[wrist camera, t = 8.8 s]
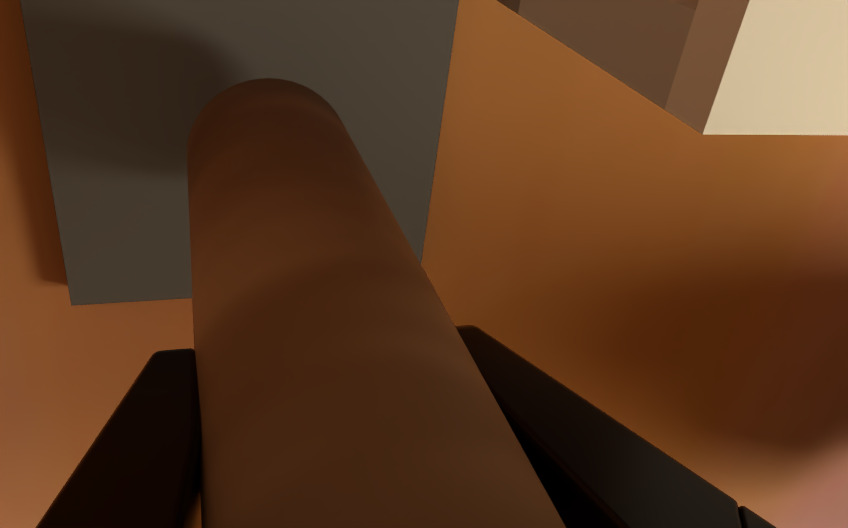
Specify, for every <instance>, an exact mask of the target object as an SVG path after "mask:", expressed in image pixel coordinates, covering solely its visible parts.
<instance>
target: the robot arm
mask: <svg viewBox="0 0 848 528" xmlns="http://www.w3.org/2000/svg"><path fill="white" fill-rule="evenodd" d="M455 327H456V329H457V331H458V333H459V335H460V336H461V338H462V340H463V342H464V344H465V345H466V347H467V349H468V351H469V353H470V355H471V356H472V358H473V360H474V362H475V364H476V365H477V367H478V369H479V371H480V373H481V374H482V376H483V378H484V380H485V382H486V384H487V385H488V387H489V389H490V391H491V393H492V394H493V396H494V398H495V400H496V402H497V403H498V405H499V407H500V409H501V411H502V412H503V414H504V416H505V418H506V420H507V422H508V423H509V425H510V427H511V429H512V431H513V432H514V434H515V436H516V438H517V440H518V441H519V443H520V445H521V447H522V449H523V451H524V452H525V454H526V456H527V458H528V460H529V461H530V463H531V465H532V467H533V469H534V470H535V472H536V474H537V476H538V478H539V480H540V481H541V483H542V485H543V487H544V489H545V490H546V492H547V494H548V496H549V498H550V499H551V501H552V503H553V505H554V507H555V508H556V510H557V512H558V514H559V516H560V518H561V519H562V521H563V523H564V525H565V527H566V528H776V527H775V526H773V525H772V524H770V523H769V522H767V521H766V520H764V519H763V518H761V517H760V516H758V515H757V514H755V513H754V512H752V511H751V510H749V509H748V508H746V507H745V506H740V507H738V504H737V502H736V501H735V500H734V499H733V498H731V497H730V496H728V495H727V494H725V493H724V492H722V491H721V490H719V489H718V488H716V487H715V486H713V485H712V484H710V483H709V482H707V481H706V480H704V479H703V478H701V477H700V476H698V475H697V474H695V473H694V472H692V471H691V470H689V469H688V468H686V467H685V466H683V465H682V464H680V463H679V462H677V461H676V460H674V459H673V458H671V457H670V456H669V455H667V454H666V453H664V452H663V451H661V450H660V449H658V448H657V447H655V446H654V445H652V444H651V443H649V442H648V441H646V440H645V439H643V438H642V437H640V436H639V435H637V434H636V433H634V432H633V431H631V430H630V429H628V428H627V427H625V426H624V425H622V424H621V423H619V422H618V421H616V420H615V419H613V418H612V417H610V416H609V415H607V414H606V413H604V412H603V411H601V410H600V409H598V408H597V407H595V406H594V405H592V404H591V403H589V402H588V401H587V400H585V399H584V398H582V397H581V396H579V395H578V394H576V393H575V392H573V391H572V390H570V389H569V388H567V387H566V386H564V385H563V384H561V383H560V382H558V381H557V380H555V379H554V378H552V377H551V376H549V375H548V374H546V373H545V372H543V371H542V370H540V369H539V368H537V367H536V366H534V365H533V364H531V363H530V362H528V361H527V360H525V359H524V358H522V357H521V356H519V355H518V354H516V353H515V352H513V351H512V350H510V349H509V348H508V347H506V346H505V345H503V344H502V343H500V342H499V341H497V340H496V339H494V338H493V337H491V336H490V335H488V334H487V333H485V332H484V331H482V330H481V329H479V328H477V327H475V326H472V325H465V326H455ZM200 446H201V419H200V405H199V392H198V380H197V369H196V357H195V350H194V349H191V348H189V349H177V350H165V351H158V352H156V353H154V354H153V355H152V357H151V358H150V359H149V361H148V362H147V364H146V365H145V367H144V368H143V370H142V371H141V373H140V374H139V376H138V377H137V378H136V380H135V381H134V383H133V384H132V386H131V387H130V389H129V390H128V392H127V393H126V395H125V396H124V398H123V399H122V401H121V402H120V404H119V405H118V407H117V408H116V410H115V411H114V412H113V414H112V415H111V417H110V418H109V420H108V421H107V423H106V424H105V426H104V427H103V429H102V430H101V432H100V433H99V435H98V436H97V438H96V439H95V441H94V442H93V444H92V445H91V447H90V448H89V449H88V451H87V452H86V454H85V455H84V457H83V458H82V460H81V461H80V463H79V464H78V466H77V467H76V469H75V470H74V472H73V473H72V475H71V476H70V478H69V479H68V481H67V482H66V484H65V485H64V486H63V488H62V489H61V491H60V492H59V494H58V495H57V497H56V498H55V500H54V501H53V503H52V504H51V506H50V507H49V509H48V510H47V512H46V513H45V515H44V516H43V518H42V519H41V521H40V522H39V523H38V525H37V526H36V528H202V525H201V500H200Z"/></svg>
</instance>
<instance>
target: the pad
mask: <svg viewBox="0 0 848 528" xmlns="http://www.w3.org/2000/svg"><path fill="white" fill-rule="evenodd" d="M20 3H21V9H22V15H23V21H24V27H25V33H26V39H27V45H28V51H29V57H30V63H31V69H32V75H33V81H34V86H35V92H36V98H37V104H38V110H39V116H40V122H41V128H42V134H43V140H44V146H45V152H46V158H47V163H48V169H49V175H50V181H51V187H52V193H53V199H54V205H55V211H56V217H57V223H58V229H59V235H60V240H61V246H62V252H63V258H64V264H65V270H66V276H67V282H68V288H69V294H70V300H71V306H72V305H87V304H103V303H119V302H135V301H151V300H167V299H182V298H192V276H191V251H190V226H189V201H188V176H187V144H188V138H189V134H190V131H191V128H192V126H193V124H194V122H195V119H196V118H197V116H198V115H199V113H200V112H201V110H202V109H203V108H204V107H205V106H206V105H207V103H208V102H209V101H210V100H212V99H213V98H214V97H215V96H216V95H218V94H219V93H221V92H222V91H224V90H225V89H227V88H229V87H231V86H234V85H236V84H238V83H242V82H245V81H248V80H254V79H262V78H275V79H283V80H288V81H293V82H295V83H298V84H301V85H303V86H305V87H307V88H309V89H311V90H313V91H314V92H316V93H317V94H319V95H320V96H322V97H323V98H324V99H325V100H326V101H327V102H328V103H329V104H330V105H331V106H332V107H333V109H334V110H335V111H336V113H337V114H338V116H339V117H340V119H341V121H342V123H343V124H344V126H345V128H346V130H347V132H348V134H349V135H350V137H351V139H352V141H353V143H354V144H355V146H356V148H357V150H358V152H359V153H360V155H361V157H362V159H363V161H364V163H365V164H366V166H367V168H368V170H369V172H370V173H371V175H372V177H373V179H374V181H375V182H376V184H377V186H378V188H379V190H380V191H381V193H382V195H383V197H384V199H385V201H386V202H387V204H388V206H389V208H390V210H391V211H392V213H393V215H394V217H395V219H396V220H397V222H398V224H399V226H400V228H401V230H402V231H403V233H404V235H405V237H406V239H407V240H408V242H409V244H410V246H411V248H412V249H413V251H414V253H415V255H416V257H417V259H418V260H419V262H420V264H421V260H422V253H423V246H424V239H425V232H426V225H427V218H428V211H429V204H430V197H431V191H432V184H433V177H434V170H435V163H436V156H437V149H438V142H439V135H440V128H441V121H442V114H443V107H444V100H445V93H446V86H447V79H448V72H449V65H450V59H451V52H452V45H453V38H454V31H455V24H456V17H457V10H458V3H459V0H20Z"/></svg>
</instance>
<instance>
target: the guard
mask: <svg viewBox="0 0 848 528" xmlns="http://www.w3.org/2000/svg"><path fill="white" fill-rule="evenodd" d="M497 1H499V2H500V3H502V4H503V5H505V6H507V7H508V8H510V9H511V10H513V11H514V12H516V13H517V14H519V15H520V16H522V17H523V18H525V19H526V20H528V21H530V22H531V23H533V24H534V25H536V26H537V27H539V28H540V29H542V30H543V31H545V32H546V33H548V34H549V35H551V36H553V37H554V38H556V39H557V40H559V41H560V42H562V43H563V44H565V45H566V46H568V47H569V48H571V49H572V50H574V51H576V52H577V53H579V54H580V55H582V56H583V57H585V58H586V59H588V60H589V61H591V62H592V63H594V64H595V65H597V66H599V67H600V68H602V69H603V70H605V71H606V72H608V73H609V74H611V75H612V76H614V77H615V78H617V79H618V80H620V81H622V82H623V83H625V84H626V85H628V86H629V87H631V88H632V89H634V90H635V91H637V92H638V93H640V94H641V95H643V96H645V97H646V98H648V99H649V100H651V101H652V102H654V103H655V104H657V105H658V106H660V107H661V108H663V109H664V110H666V111H668V112H669V113H671V114H672V115H674V116H675V117H677V118H678V119H680V120H681V121H683V122H684V123H686V124H687V125H689V126H691V127H692V128H694V129H695V130H697V131H698V132H700V133H701V134H721V135H848V0H497Z"/></svg>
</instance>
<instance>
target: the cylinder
mask: <svg viewBox="0 0 848 528" xmlns="http://www.w3.org/2000/svg"><path fill="white" fill-rule="evenodd" d="M187 176H188V201H189V226H190V251H191V276H192V301H193V326H194V350H195V357H196V369H197V380H198V392H199V405H200V419H201V446H200V500H201V525H202V528H566V527H565V525H564V523H563V521H562V519H561V518H560V516H559V514H558V512H557V510H556V508H555V507H554V505H553V503H552V501H551V499H550V498H549V496H548V494H547V492H546V490H545V489H544V487H543V485H542V483H541V481H540V480H539V478H538V476H537V474H536V472H535V470H534V469H533V467H532V465H531V463H530V461H529V460H528V458H527V456H526V454H525V452H524V451H523V449H522V447H521V445H520V443H519V441H518V440H517V438H516V436H515V434H514V432H513V431H512V429H511V427H510V425H509V423H508V422H507V420H506V418H505V416H504V414H503V412H502V411H501V409H500V407H499V405H498V403H497V402H496V400H495V398H494V396H493V394H492V393H491V391H490V389H489V387H488V385H487V384H486V382H485V380H484V378H483V376H482V374H481V373H480V371H479V369H478V367H477V365H476V364H475V362H474V360H473V358H472V356H471V355H470V353H469V351H468V349H467V347H466V345H465V344H464V342H463V340H462V338H461V336H460V335H459V333H458V331H457V329H456V327H455V326H454V324H453V322H452V320H451V318H450V316H449V315H448V313H447V311H446V309H445V307H444V306H443V304H442V302H441V300H440V298H439V297H438V295H437V293H436V291H435V289H434V287H433V286H432V284H431V282H430V280H429V278H428V277H427V275H426V273H425V271H424V269H423V268H422V266H421V264H420V262H419V260H418V259H417V257H416V255H415V253H414V251H413V249H412V248H411V246H410V244H409V242H408V240H407V239H406V237H405V235H404V233H403V231H402V230H401V228H400V226H399V224H398V222H397V220H396V219H395V217H394V215H393V213H392V211H391V210H390V208H389V206H388V204H387V202H386V201H385V199H384V197H383V195H382V193H381V191H380V190H379V188H378V186H377V184H376V182H375V181H374V179H373V177H372V175H371V173H370V172H369V170H368V168H367V166H366V164H365V163H364V161H363V159H362V157H361V155H360V153H359V152H358V150H357V148H356V146H355V144H354V143H353V141H352V139H351V137H350V135H349V134H348V132H347V130H346V128H345V126H344V124H343V123H342V121H341V119H340V117H339V116H338V114H337V113H336V111H335V110H334V109H333V107H332V106H331V105H330V104H329V103H328V102H327V101H326V100H325V99H324V98H323V97H322V96H320V95H319V94H317V93H316V92H314V91H313V90H311V89H309V88H307V87H305V86H303V85H301V84H298V83H295V82H293V81H288V80H283V79H275V78H262V79H254V80H248V81H245V82H242V83H238V84H236V85H234V86H231V87H229V88H227V89H225V90H224V91H222V92H221V93H219V94H218V95H216V96H215V97H214V98H213V99H212V100H210V101H209V102H208V103H207V105H206V106H205V107H204V108H203V109H202V110H201V112H200V113H199V115H198V116H197V118H196V119H195V122H194V124H193V126H192V128H191V131H190V134H189V138H188V144H187Z"/></svg>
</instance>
